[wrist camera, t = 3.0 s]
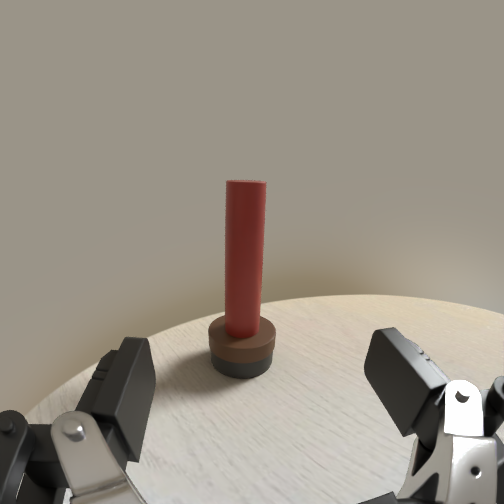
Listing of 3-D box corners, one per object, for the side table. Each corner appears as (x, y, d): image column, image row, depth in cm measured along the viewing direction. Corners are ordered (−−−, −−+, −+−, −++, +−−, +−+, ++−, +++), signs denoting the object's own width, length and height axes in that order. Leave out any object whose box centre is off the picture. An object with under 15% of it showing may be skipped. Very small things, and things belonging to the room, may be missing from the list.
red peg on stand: (231, 388, 19) (232, 183, 14) (199, 351, 23) (193, 179, 18) (285, 364, 21) (303, 184, 17) (249, 335, 25) (255, 179, 21)
